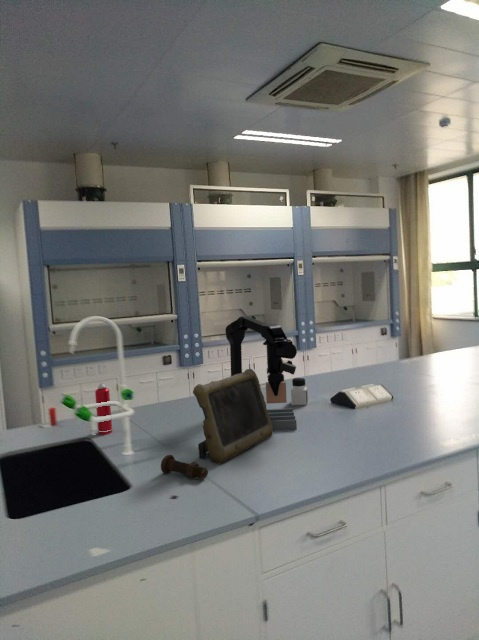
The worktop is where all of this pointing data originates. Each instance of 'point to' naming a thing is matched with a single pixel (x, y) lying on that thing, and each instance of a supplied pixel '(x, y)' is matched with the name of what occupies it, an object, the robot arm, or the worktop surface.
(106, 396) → the bottle
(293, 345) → the robot arm
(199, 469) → the bolt
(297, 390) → the medicine bottle
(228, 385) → the tablet
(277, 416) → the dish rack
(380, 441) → the worktop surface
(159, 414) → the worktop surface
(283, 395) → the tall tan upright block
